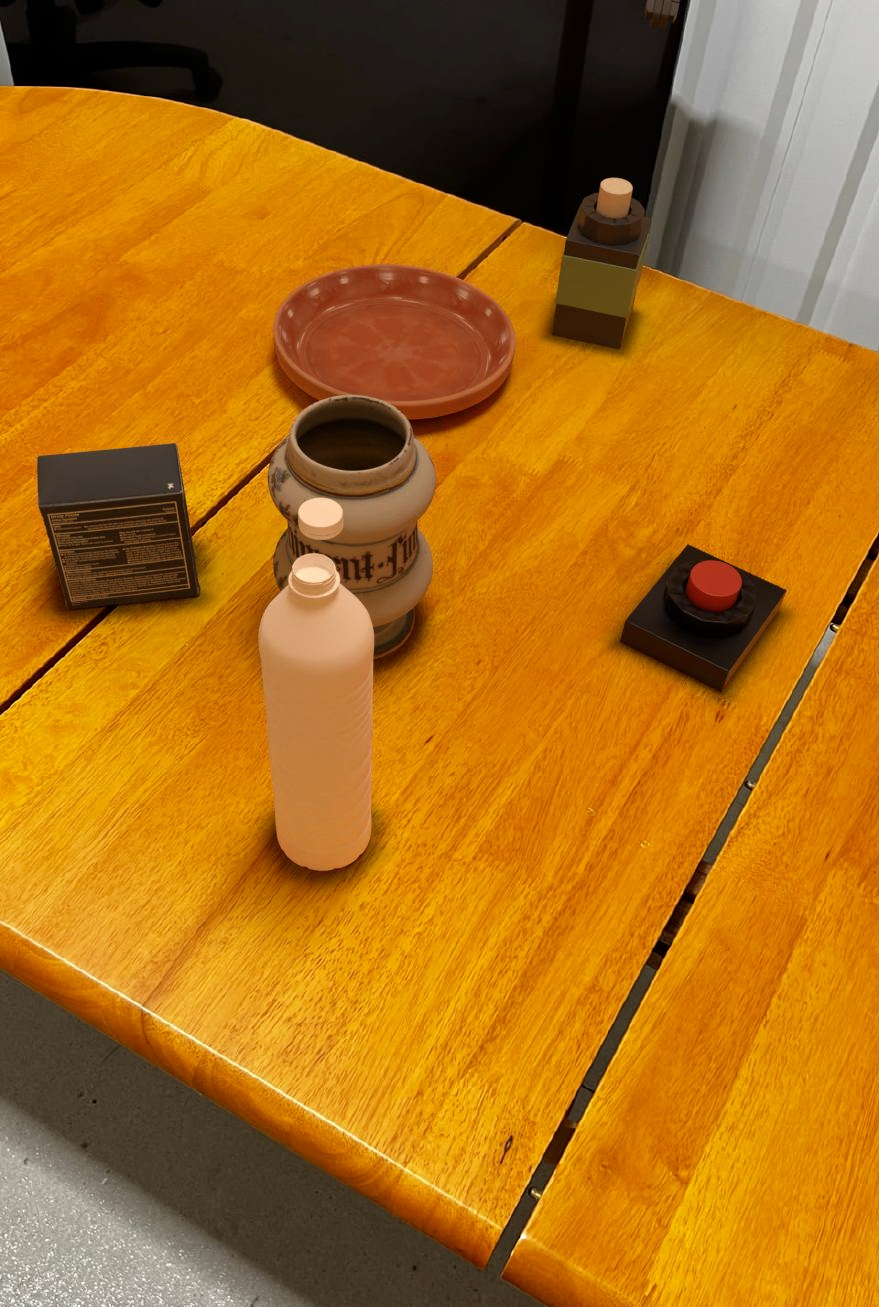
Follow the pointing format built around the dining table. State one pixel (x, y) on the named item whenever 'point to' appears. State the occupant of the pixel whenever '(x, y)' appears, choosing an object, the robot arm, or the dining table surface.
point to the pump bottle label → (598, 285)
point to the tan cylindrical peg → (614, 198)
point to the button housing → (701, 623)
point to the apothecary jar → (360, 506)
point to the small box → (118, 525)
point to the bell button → (713, 586)
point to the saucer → (395, 338)
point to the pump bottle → (606, 245)
